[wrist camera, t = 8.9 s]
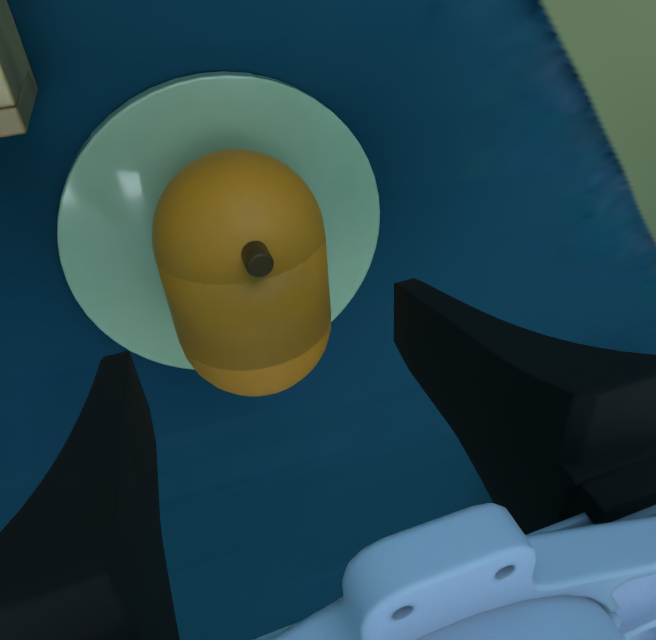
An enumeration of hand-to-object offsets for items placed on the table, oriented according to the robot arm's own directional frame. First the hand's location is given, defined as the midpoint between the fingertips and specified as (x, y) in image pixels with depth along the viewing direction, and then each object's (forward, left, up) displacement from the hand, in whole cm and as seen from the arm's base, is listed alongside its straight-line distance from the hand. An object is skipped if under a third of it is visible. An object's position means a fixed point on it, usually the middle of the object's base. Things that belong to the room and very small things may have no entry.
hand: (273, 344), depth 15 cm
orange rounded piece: (0, 0, -6) cm, 6 cm away
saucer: (0, 0, -6) cm, 6 cm away
